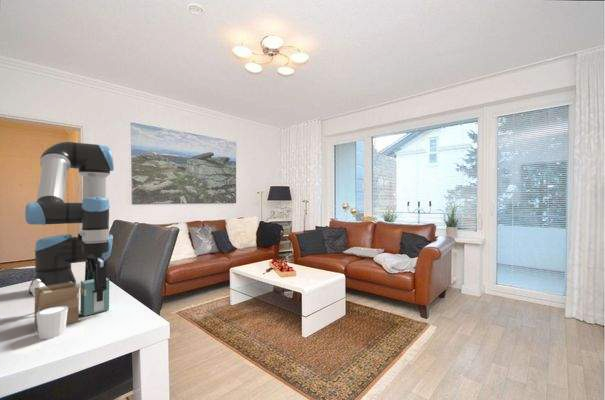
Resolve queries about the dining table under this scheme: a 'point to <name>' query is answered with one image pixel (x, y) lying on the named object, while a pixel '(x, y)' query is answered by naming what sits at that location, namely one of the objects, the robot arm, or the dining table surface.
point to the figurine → (36, 286)
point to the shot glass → (52, 322)
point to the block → (91, 297)
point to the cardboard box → (58, 299)
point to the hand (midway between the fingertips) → (94, 307)
